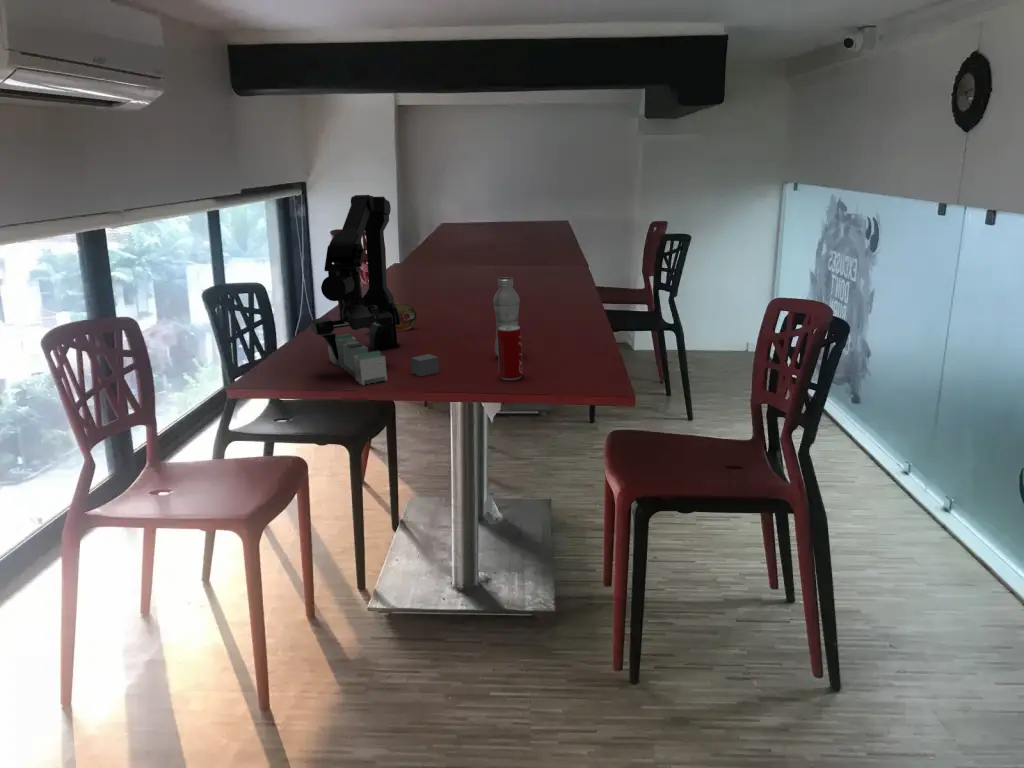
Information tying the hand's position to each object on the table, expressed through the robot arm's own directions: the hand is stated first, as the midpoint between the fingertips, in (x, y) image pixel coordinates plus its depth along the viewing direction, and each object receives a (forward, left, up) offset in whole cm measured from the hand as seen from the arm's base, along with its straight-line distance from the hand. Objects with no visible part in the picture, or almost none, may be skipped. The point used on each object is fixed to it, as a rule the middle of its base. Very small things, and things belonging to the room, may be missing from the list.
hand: (355, 356), depth 189 cm
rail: (0, 0, -4) cm, 4 cm away
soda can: (-28, +27, -4) cm, 39 cm away
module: (0, 0, -2) cm, 2 cm away
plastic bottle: (-36, +11, -4) cm, 38 cm away
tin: (-22, -35, -4) cm, 41 cm away
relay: (-13, +12, -4) cm, 18 cm away
